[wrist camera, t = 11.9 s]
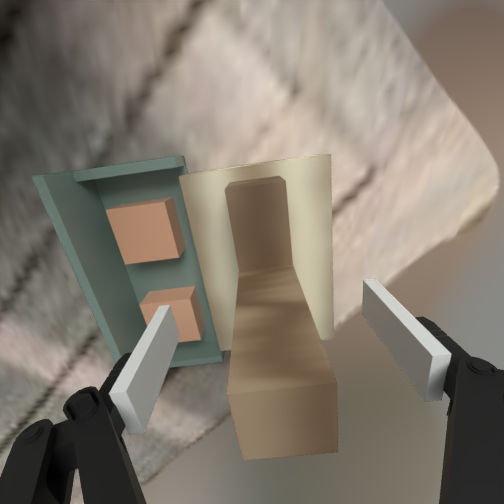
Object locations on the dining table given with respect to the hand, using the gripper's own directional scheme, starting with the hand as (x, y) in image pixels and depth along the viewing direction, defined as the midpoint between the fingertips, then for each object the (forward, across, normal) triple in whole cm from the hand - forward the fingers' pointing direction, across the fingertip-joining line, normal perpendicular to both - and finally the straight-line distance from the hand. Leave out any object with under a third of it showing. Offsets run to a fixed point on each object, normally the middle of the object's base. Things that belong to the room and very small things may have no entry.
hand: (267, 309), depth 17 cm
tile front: (+9, +10, -5) cm, 14 cm away
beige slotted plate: (+9, 0, 0) cm, 9 cm away
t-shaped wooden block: (+6, 0, 0) cm, 6 cm away
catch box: (+9, +10, 0) cm, 14 cm away
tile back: (+9, +10, +5) cm, 14 cm away
